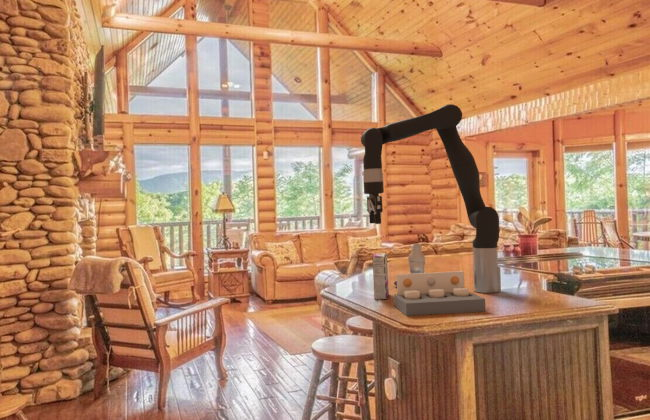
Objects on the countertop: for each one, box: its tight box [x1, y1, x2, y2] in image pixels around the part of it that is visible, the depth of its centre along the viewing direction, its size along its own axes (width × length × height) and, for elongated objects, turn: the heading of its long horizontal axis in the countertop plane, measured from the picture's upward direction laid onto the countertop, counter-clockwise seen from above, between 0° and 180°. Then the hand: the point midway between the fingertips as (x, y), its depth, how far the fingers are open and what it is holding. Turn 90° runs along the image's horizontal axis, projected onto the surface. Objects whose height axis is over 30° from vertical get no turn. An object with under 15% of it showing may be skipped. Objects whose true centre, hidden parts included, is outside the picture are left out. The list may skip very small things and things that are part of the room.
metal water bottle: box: [407, 243, 426, 274], centre depth 180 cm, size 6×7×20 cm
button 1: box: [404, 290, 420, 299], centre depth 161 cm, size 5×5×3 cm
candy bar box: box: [372, 252, 390, 300], centre depth 184 cm, size 11×5×16 cm, turn 168°
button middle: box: [429, 289, 444, 298], centre depth 161 cm, size 5×5×3 cm
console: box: [393, 270, 487, 317], centre depth 160 cm, size 26×16×11 cm, turn 95°
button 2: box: [453, 287, 470, 297], centre depth 162 cm, size 5×5×3 cm
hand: (375, 223), depth 183 cm, fingers open, 8 cm apart
